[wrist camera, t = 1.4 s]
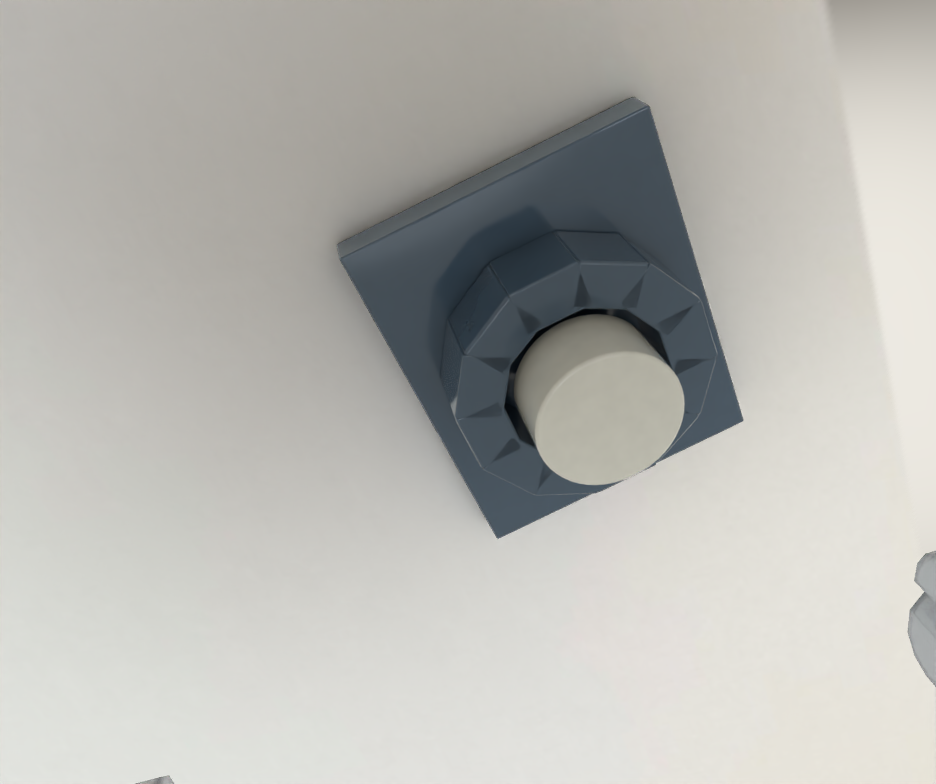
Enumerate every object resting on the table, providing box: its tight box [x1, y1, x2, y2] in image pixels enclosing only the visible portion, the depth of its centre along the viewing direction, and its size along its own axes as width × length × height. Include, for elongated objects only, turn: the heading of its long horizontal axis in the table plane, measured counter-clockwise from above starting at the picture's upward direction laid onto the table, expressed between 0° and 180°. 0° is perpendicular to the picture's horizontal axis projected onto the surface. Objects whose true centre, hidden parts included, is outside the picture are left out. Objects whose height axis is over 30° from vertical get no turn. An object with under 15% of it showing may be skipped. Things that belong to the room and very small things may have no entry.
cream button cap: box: [514, 314, 685, 485], centre depth 21 cm, size 4×4×2 cm
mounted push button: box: [337, 97, 743, 539], centre depth 23 cm, size 10×8×3 cm
